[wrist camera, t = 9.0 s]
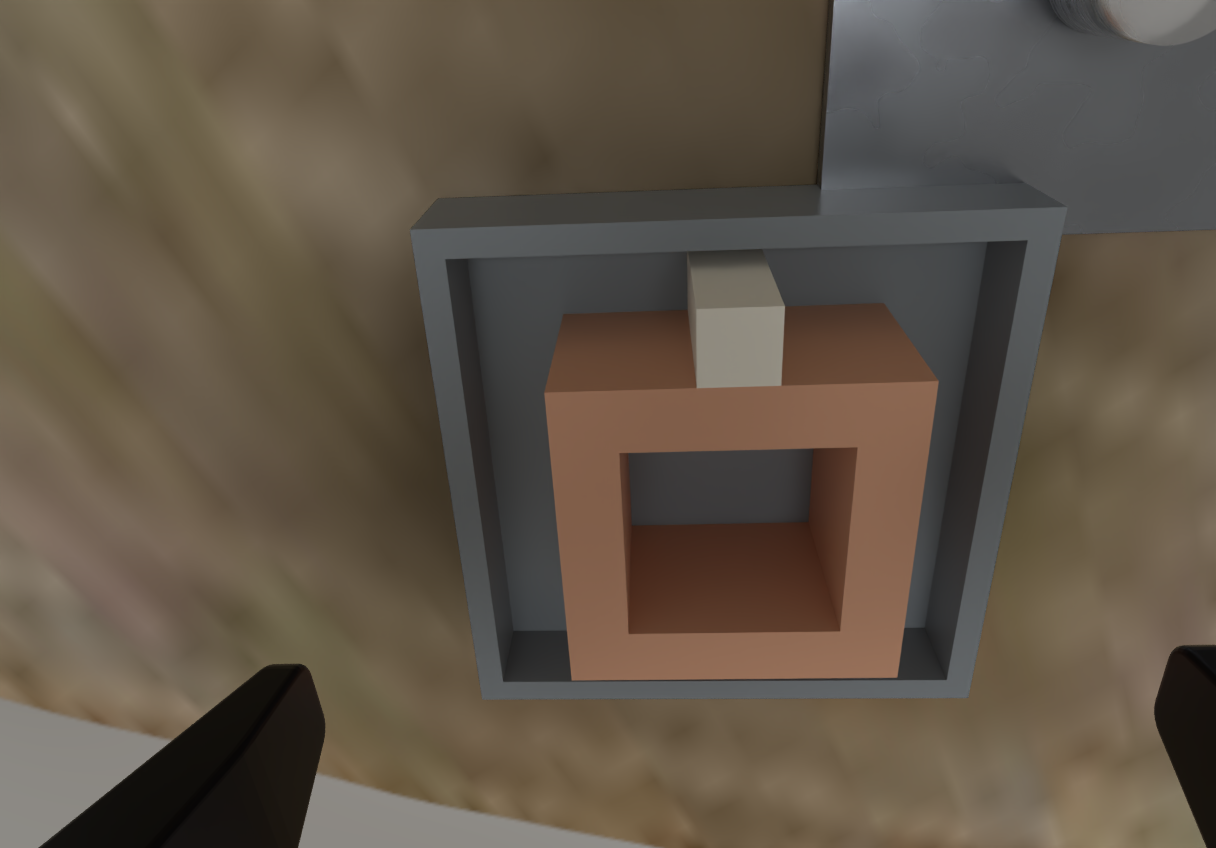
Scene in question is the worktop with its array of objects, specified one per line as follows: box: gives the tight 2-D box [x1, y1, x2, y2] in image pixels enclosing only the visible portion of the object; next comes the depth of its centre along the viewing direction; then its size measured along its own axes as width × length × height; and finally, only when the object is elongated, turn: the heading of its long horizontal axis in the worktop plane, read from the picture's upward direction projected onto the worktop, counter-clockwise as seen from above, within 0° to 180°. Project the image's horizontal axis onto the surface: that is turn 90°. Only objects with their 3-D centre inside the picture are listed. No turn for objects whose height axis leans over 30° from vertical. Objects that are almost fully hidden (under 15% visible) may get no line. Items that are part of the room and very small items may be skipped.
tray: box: [410, 183, 1067, 699], centre depth 20 cm, size 12×12×2 cm
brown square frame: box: [544, 249, 939, 681], centre depth 18 cm, size 8×7×4 cm
